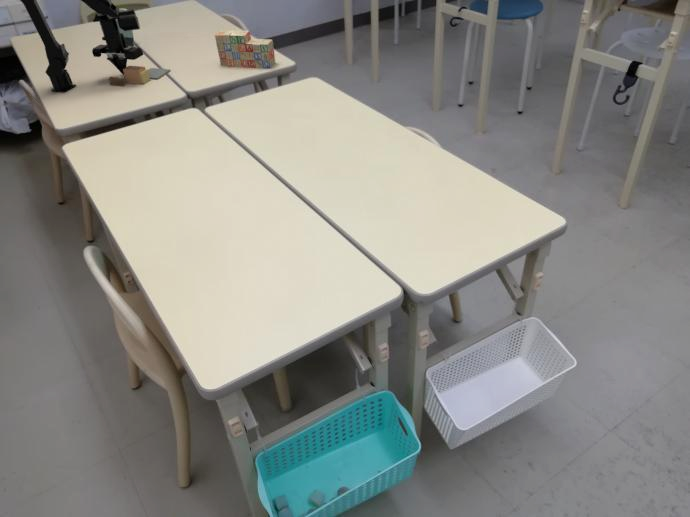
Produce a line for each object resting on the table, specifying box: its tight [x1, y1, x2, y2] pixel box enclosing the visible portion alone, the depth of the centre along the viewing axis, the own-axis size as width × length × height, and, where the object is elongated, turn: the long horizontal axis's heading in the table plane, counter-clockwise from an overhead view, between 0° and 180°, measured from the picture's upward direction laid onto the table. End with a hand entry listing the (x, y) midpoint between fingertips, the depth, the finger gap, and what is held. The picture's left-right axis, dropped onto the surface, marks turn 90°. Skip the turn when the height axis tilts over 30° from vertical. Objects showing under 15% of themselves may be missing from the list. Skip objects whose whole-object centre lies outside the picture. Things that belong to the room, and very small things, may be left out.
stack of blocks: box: [214, 29, 276, 69], centre depth 209 cm, size 21×6×12 cm, turn 76°
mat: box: [147, 67, 172, 81], centre depth 209 cm, size 9×9×1 cm
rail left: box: [108, 76, 127, 87], centre depth 202 cm, size 2×6×2 cm, turn 72°
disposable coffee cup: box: [116, 8, 136, 50], centre depth 232 cm, size 11×11×15 cm
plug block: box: [123, 65, 152, 85], centre depth 203 cm, size 4×8×5 cm, turn 72°
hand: (124, 74), depth 205 cm, fingers closed
